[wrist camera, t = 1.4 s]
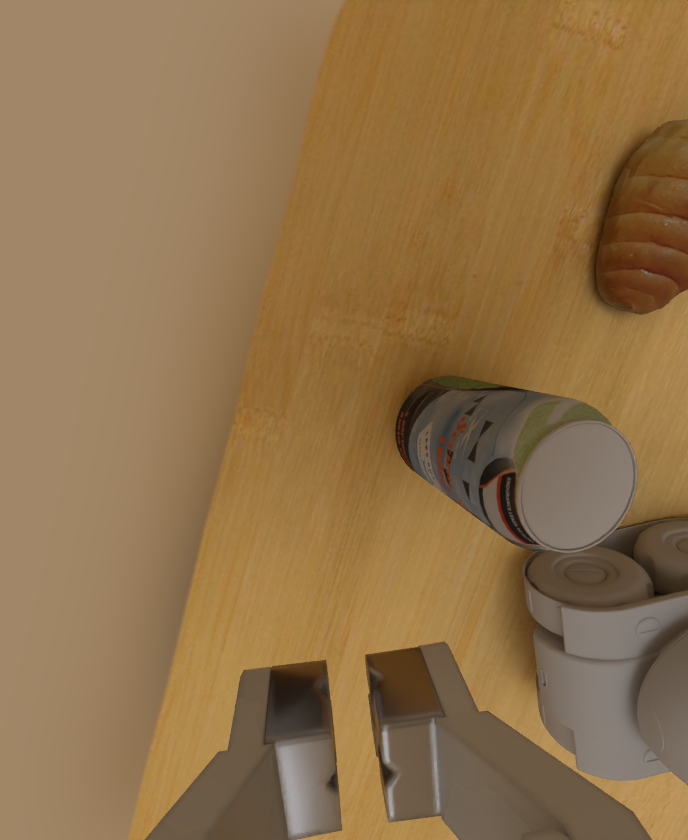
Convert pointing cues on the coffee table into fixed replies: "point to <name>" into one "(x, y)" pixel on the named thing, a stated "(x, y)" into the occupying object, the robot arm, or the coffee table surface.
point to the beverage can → (520, 460)
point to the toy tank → (615, 650)
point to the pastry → (648, 226)
